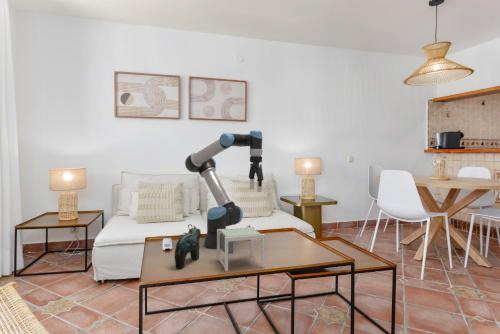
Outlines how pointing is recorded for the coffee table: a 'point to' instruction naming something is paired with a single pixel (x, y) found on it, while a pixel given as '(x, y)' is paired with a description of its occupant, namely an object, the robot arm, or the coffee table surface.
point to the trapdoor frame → (240, 238)
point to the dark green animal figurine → (187, 246)
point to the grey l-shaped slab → (232, 234)
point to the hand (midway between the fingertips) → (255, 190)
